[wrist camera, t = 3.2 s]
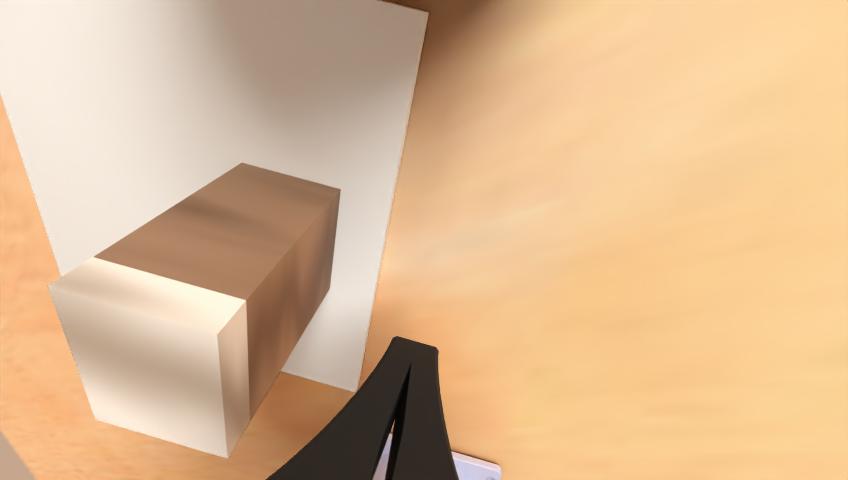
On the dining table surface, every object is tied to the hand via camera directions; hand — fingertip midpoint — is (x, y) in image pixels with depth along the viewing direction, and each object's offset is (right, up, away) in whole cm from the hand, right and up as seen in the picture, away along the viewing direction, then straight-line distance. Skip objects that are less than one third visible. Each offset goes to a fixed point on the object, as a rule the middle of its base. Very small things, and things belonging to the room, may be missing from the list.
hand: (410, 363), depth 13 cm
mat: (-9, +5, +5) cm, 12 cm away
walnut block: (-5, +4, +5) cm, 8 cm away
